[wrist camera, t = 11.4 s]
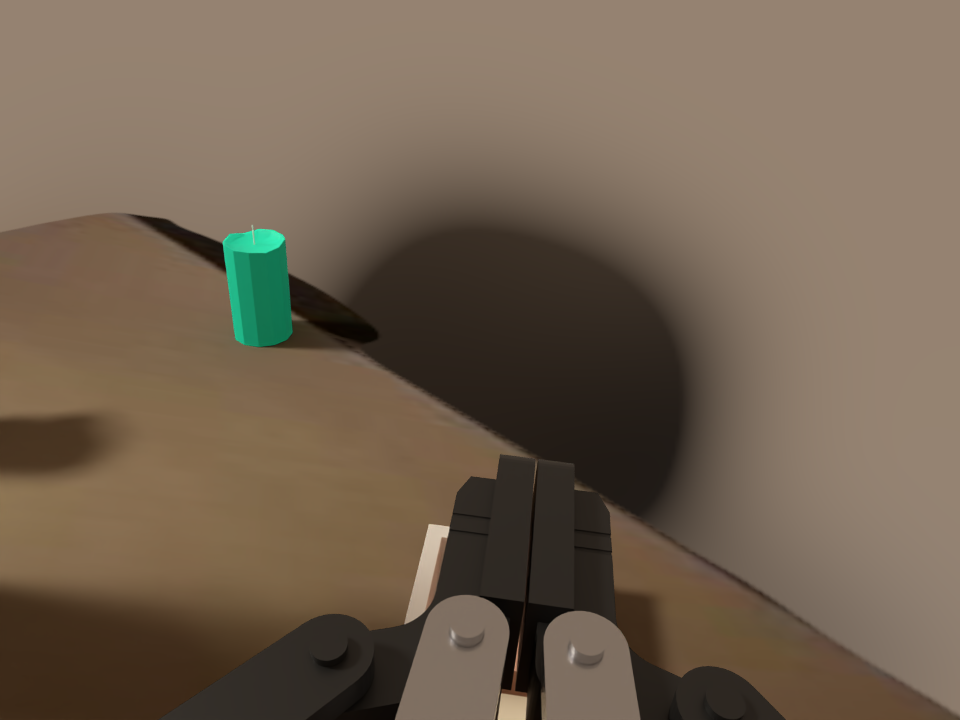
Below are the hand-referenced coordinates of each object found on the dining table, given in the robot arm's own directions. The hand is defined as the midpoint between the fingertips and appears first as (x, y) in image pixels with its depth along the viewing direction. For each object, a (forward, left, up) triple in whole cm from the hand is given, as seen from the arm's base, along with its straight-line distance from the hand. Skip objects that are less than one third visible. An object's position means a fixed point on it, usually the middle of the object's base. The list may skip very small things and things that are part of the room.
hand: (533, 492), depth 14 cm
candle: (+16, +56, -28) cm, 65 cm away
